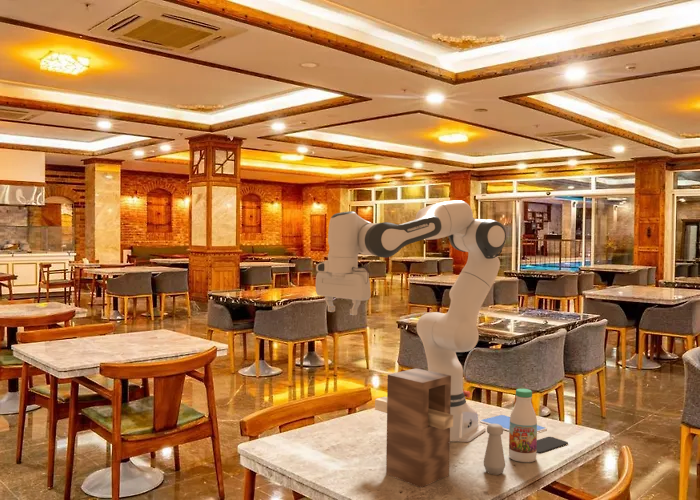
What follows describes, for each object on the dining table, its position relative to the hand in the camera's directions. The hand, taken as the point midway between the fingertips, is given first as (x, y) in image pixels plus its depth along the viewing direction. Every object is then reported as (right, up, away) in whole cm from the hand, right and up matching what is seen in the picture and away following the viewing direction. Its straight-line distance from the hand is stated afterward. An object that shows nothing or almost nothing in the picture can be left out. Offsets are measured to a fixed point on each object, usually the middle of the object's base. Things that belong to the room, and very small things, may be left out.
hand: (342, 313), depth 182 cm
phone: (+62, -42, +9) cm, 76 cm away
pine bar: (+19, -27, -15) cm, 36 cm away
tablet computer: (+58, -42, +28) cm, 76 cm away
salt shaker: (+42, -42, -13) cm, 61 cm away
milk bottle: (+52, -42, -3) cm, 67 cm away
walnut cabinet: (+21, -42, -16) cm, 49 cm away
